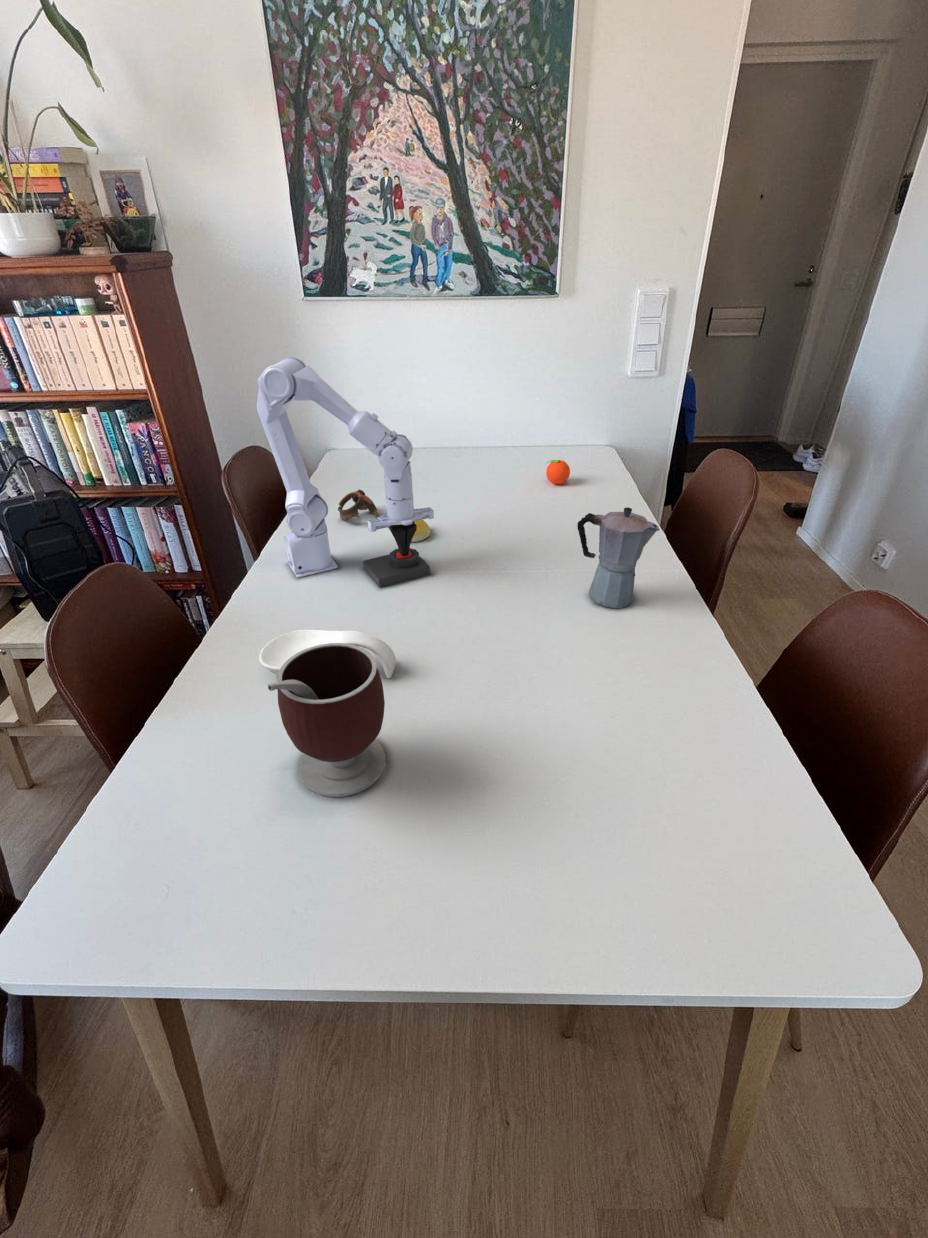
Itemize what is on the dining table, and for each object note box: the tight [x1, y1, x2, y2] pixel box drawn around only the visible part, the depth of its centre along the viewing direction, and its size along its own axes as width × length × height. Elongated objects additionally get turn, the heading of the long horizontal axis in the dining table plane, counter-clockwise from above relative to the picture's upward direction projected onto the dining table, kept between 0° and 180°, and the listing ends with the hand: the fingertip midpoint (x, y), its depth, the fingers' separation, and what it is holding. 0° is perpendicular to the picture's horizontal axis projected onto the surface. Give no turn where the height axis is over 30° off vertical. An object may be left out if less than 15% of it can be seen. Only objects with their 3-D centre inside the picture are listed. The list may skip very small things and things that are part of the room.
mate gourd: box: [267, 643, 387, 798], centre depth 85 cm, size 16×14×20 cm
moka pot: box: [576, 506, 660, 609], centre depth 124 cm, size 10×15×20 cm, turn 78°
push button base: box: [362, 547, 431, 589], centre depth 139 cm, size 12×10×4 cm
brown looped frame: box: [337, 489, 380, 521], centre depth 165 cm, size 12×10×8 cm
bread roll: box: [411, 519, 432, 543], centre depth 155 cm, size 8×9×4 cm
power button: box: [396, 551, 412, 559], centre depth 139 cm, size 4×4×2 cm
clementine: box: [545, 459, 571, 485], centre depth 183 cm, size 8×7×7 cm
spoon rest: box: [258, 629, 397, 679], centre depth 109 cm, size 24×12×7 cm, turn 83°
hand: (404, 553), depth 139 cm, fingers closed, pressing on power button
